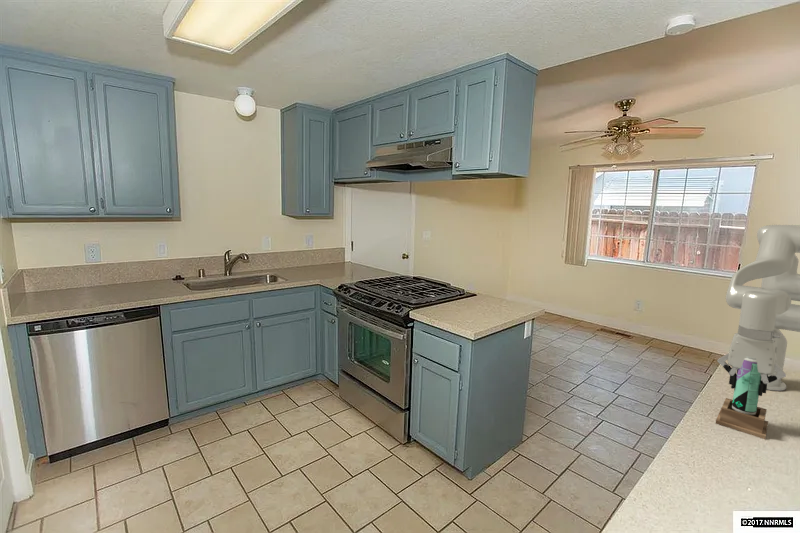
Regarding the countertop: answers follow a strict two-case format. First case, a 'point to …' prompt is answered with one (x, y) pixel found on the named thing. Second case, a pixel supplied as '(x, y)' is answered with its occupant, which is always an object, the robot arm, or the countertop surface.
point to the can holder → (743, 420)
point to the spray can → (747, 387)
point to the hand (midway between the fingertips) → (746, 390)
